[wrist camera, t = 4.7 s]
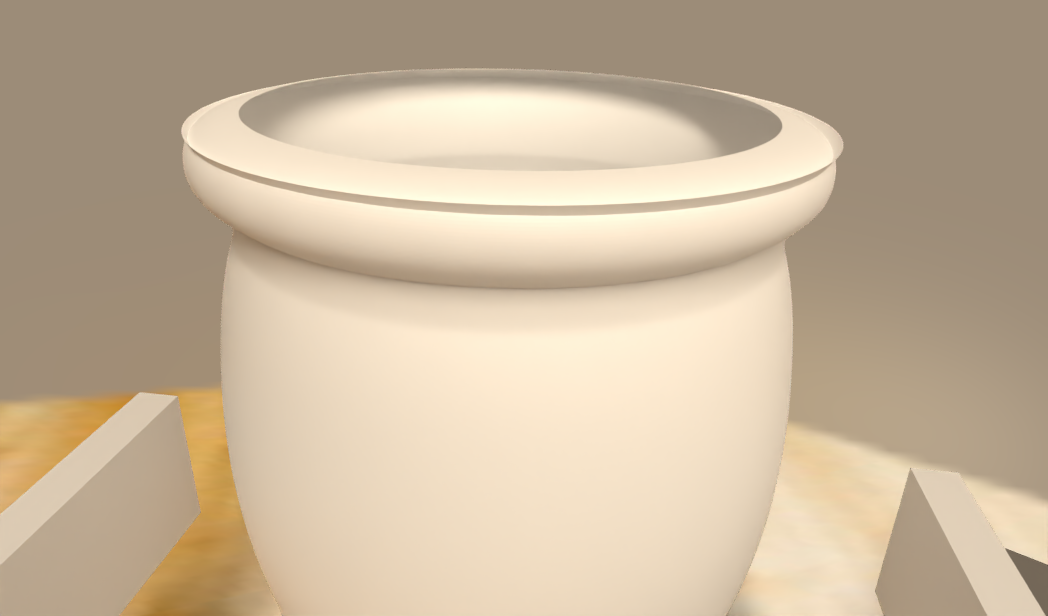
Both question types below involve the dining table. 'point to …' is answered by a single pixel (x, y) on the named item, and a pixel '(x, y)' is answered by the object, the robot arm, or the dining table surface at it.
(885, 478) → the dining table surface
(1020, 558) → the tray
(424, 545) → the jar
